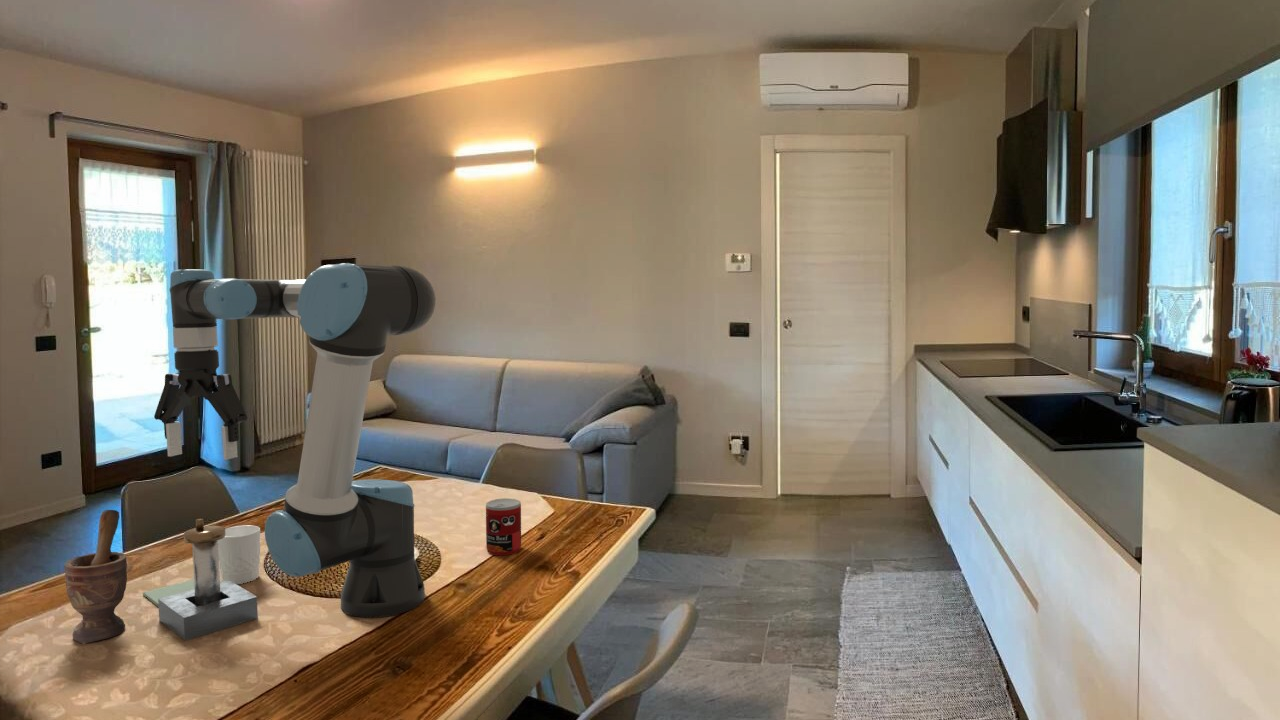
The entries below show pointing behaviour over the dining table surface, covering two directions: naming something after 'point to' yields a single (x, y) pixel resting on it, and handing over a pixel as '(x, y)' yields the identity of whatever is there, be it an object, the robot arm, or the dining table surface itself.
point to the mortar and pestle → (98, 585)
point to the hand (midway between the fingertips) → (202, 456)
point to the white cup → (240, 554)
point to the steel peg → (205, 561)
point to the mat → (168, 591)
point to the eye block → (207, 611)
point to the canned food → (503, 526)
